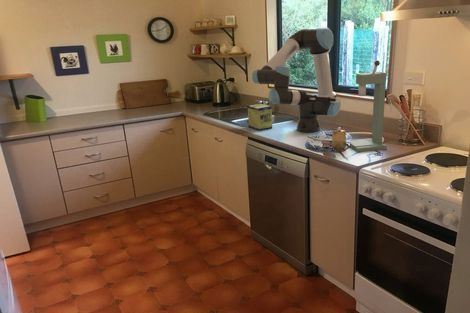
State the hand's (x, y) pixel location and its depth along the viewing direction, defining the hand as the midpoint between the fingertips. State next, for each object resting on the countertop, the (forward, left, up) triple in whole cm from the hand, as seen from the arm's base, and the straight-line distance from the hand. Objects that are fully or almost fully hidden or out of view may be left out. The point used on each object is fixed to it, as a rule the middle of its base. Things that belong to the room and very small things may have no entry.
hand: (333, 99), depth 201 cm
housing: (+10, -1, -25) cm, 27 cm away
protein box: (-54, -32, -26) cm, 68 cm away
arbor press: (+10, +14, -25) cm, 31 cm away
